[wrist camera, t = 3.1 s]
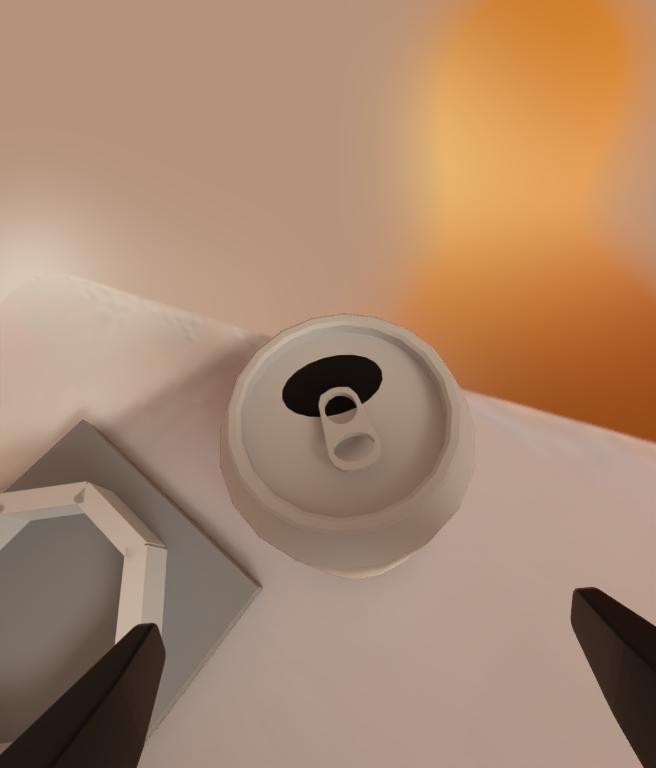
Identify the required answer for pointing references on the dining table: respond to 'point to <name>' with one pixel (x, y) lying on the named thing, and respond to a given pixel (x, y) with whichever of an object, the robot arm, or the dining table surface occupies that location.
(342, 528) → the can
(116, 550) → the housing
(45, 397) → the dining table surface
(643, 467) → the dining table surface
